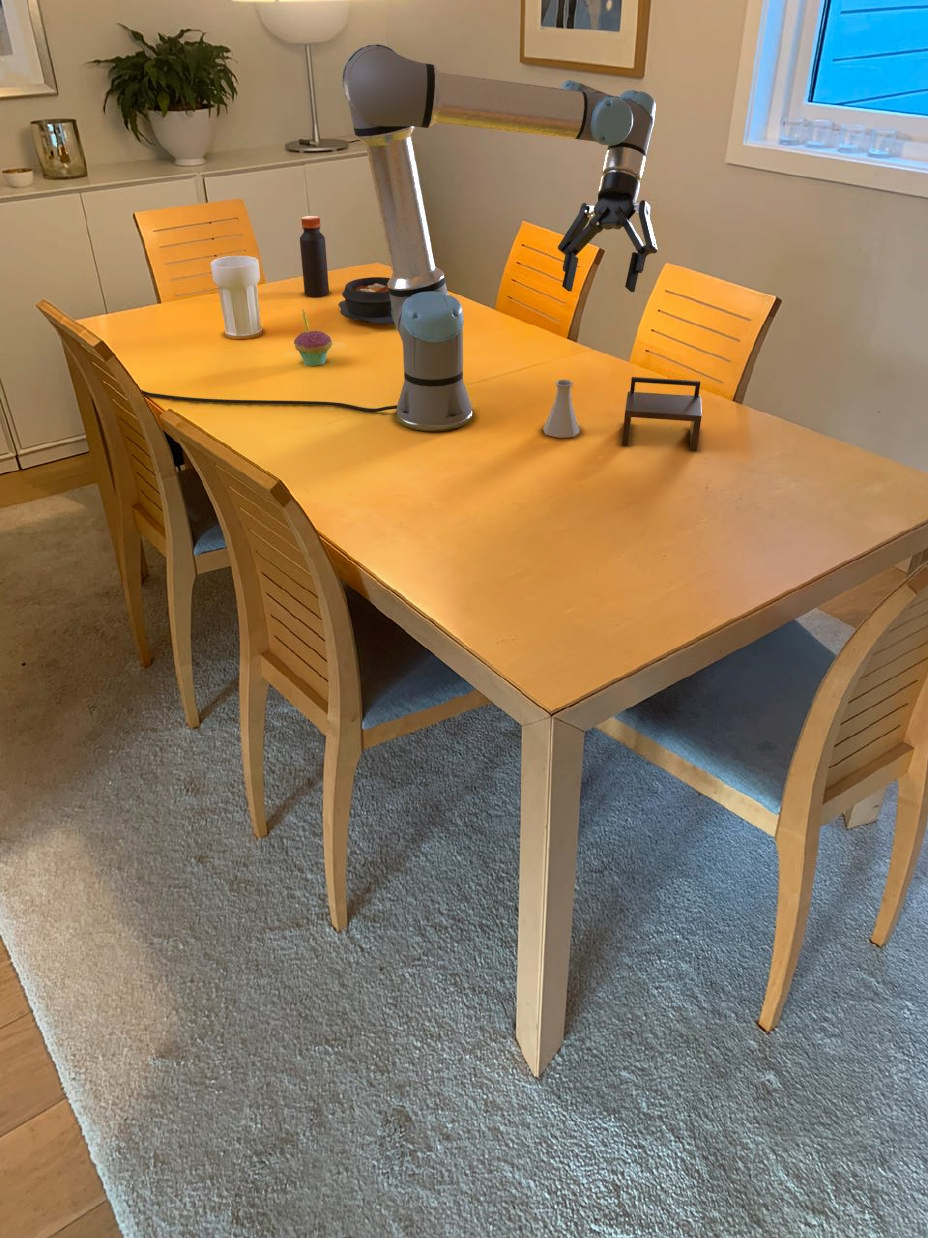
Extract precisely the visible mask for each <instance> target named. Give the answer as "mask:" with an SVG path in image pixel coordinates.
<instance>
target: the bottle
mask: <svg viewBox="0 0 928 1238" xmlns="http://www.w3.org/2000/svg"><path fill="white" fill-rule="evenodd" d="M301 227H302V230H303V233H301V235H300V236H299V246H300V247H299V248H300V258H301V269H302V280H303V291H304V292H303V293H304V295H305V296H307V297H311V298H320V297H325V296H328V295H329V293H330V287H329V286H330V284H329V274H328V273H329V272H328V261H327V260H328V259H327V249H326V238H325V237H326V236H325V235H324V234H323V233H322V232H321V230H320V229H321V218H320V216H316V215H307V216H303V217H301Z"/></svg>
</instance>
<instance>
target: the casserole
mask: <svg viewBox="0 0 928 1238" xmlns="http://www.w3.org/2000/svg"><path fill="white" fill-rule="evenodd" d="M390 278H391V277H385V276H384V277H383V276H372V277H371V276H369V277H362V278H361V277H360V278H356V279H353V280H350V281H348V282H347V283H346V284H345V287H344V289H343V291H342V293H341V295H342V297H343V298H344V300H341V301H339V302H338V304H337V306H338V307H339V308H340V309H339V312H340V314H341V315H342V316H344V317H345V318H347V319H350V320H354V321H357V322H361V323H367V324H374V325H395V324H394V321H393V318H392V313H391V310H392V307H391V300H390V295H389V290H388V286H387V283H388V281H389V280H390Z"/></svg>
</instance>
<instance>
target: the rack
mask: <svg viewBox="0 0 928 1238" xmlns="http://www.w3.org/2000/svg"><path fill="white" fill-rule="evenodd" d="M636 383H639V384H640V383H641V384H655V385H656V384H657V385H673V386H686V387H689V386H690V387H695V388H694V393H693V395H686V394H671V393H655V392H642V391H641V392H640V391H635V390H636ZM700 388H701V381H700V380H690V379H688V380H687V379H672V378H657V377H641V376H631V380H630V388H629V391H627V394H626V400H625V401H626V402H625V409H624V417H623V427H622V428H623V429H622V438H621V439H622V440H621V446H624V447H628V446H629V440H630V434H631V424H632V423H631V422H632V418H637V419H654V420H667V421H681V422H682V421H683V422H690V425H689V451H690V452H691V451H692V452H693V451H694V452H697V451H698V443H699V438H700V437H699V436H700V430H701V424H702V418H703V417H702V416H703V415H702V413H703V411H702V396H701V395H700Z"/></svg>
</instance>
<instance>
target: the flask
mask: <svg viewBox="0 0 928 1238" xmlns="http://www.w3.org/2000/svg"><path fill="white" fill-rule="evenodd" d="M573 383H574V382H573V381H572V380H568V379H558V380H557V381H555V385H556V392H555V398H554V402H553V404H552V407H551V410H550V411H549V414H548V416H547V419H546V422H545V423H544V426H543V428H542V430H543V432H544V434H545V436H549V437H555V438H558V439H560V438H561V439H562V438H575V437H576V436H577V435H578V434H579V433H580V428H579V424H578V421H577V417H576V414H575V410H574V407H573V403H572V396H571V391H572V389H571V388H572V387H573Z"/></svg>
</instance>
